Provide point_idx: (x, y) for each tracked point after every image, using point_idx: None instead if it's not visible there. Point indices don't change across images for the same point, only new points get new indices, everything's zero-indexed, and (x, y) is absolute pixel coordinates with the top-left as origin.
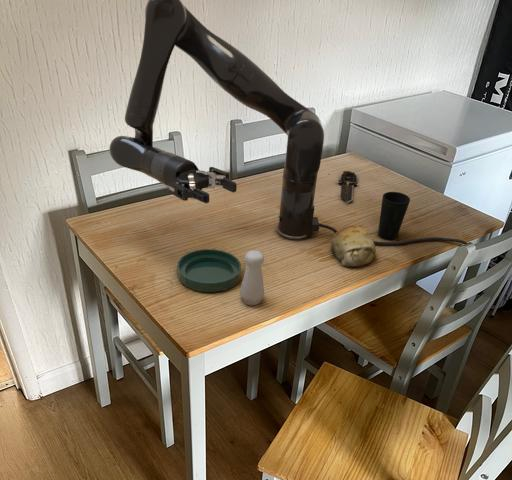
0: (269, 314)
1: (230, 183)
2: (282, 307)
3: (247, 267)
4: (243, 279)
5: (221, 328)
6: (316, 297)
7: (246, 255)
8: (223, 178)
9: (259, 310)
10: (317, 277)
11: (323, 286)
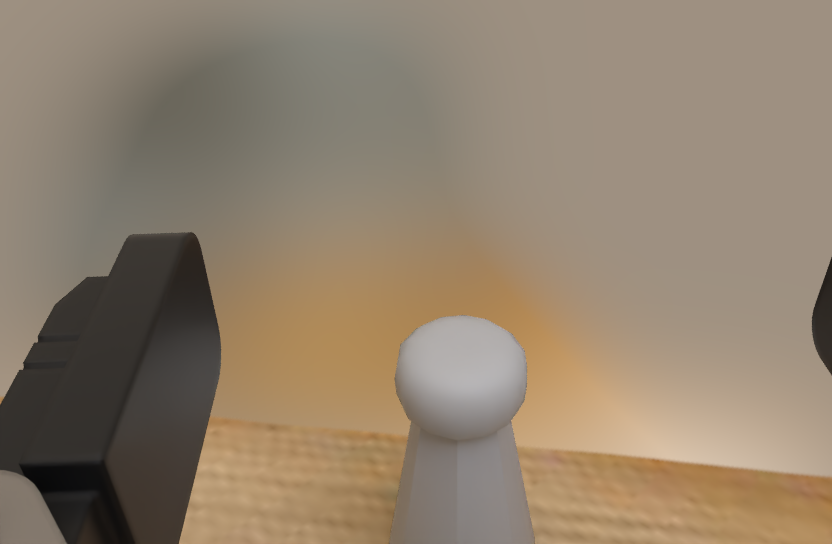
0: None
1: (176, 303)
2: (380, 458)
3: (503, 438)
4: (511, 522)
5: (747, 516)
6: None
7: (513, 377)
8: (37, 503)
9: None
10: None
11: None
